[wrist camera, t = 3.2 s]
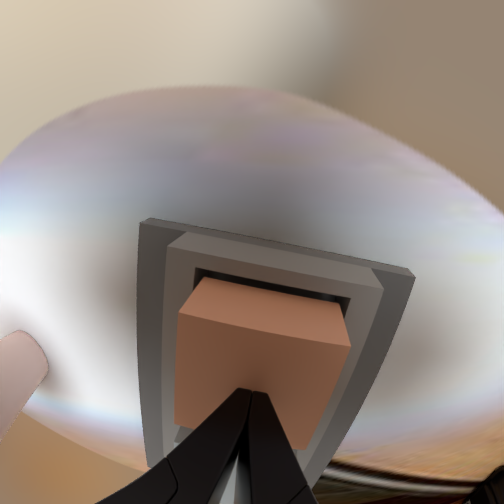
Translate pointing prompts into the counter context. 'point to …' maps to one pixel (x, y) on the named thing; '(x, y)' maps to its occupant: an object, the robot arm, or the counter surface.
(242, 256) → the keypad
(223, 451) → the robot arm
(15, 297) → the counter surface
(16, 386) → the smoothie
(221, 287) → the key terracotta
